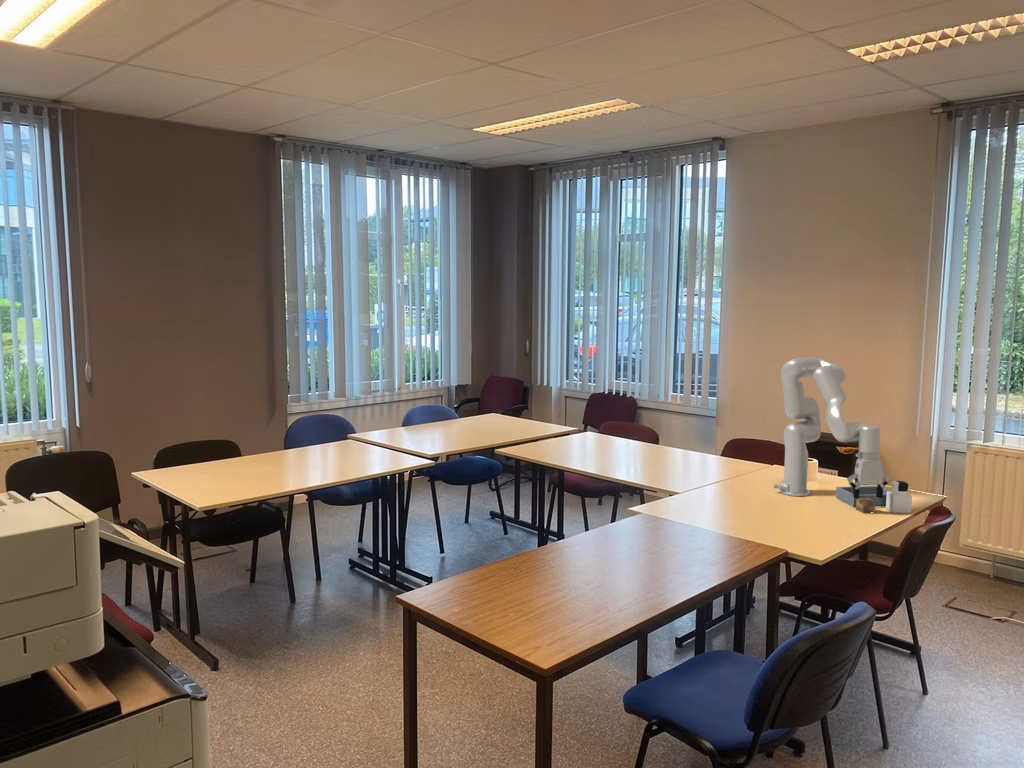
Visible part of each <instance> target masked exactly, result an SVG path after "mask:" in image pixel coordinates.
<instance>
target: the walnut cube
mask: <svg viewBox="0 0 1024 768" xmlns="http://www.w3.org/2000/svg"><path fill="white" fill-rule="evenodd" d="M857 510H858V511H857ZM855 511H857V512H859V511H860V512H859V513H861V512H862V513H861V514H863V513H864V514H872V513H871V512H874V513H873V514H875V513H876V507H875V501H874V500H872V499H870V498H859V499H857V501H856V507H855Z"/></svg>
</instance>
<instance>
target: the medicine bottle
mask: <svg viewBox="0 0 1024 768" xmlns="http://www.w3.org/2000/svg"><path fill="white" fill-rule="evenodd" d="M890 485H891V486H890V490H889V491H887V496H886V507H885V508H886V509H887V510H888V511H890V512H892V513H893V512H894V513H893V514H911V513H912V506H913V505H912V504H913V503H912V502H913V495H911V494H908V493H909V483H908V482H906V481H903V480H894V481H891V484H890Z"/></svg>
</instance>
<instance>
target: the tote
mask: <svg viewBox="0 0 1024 768" xmlns="http://www.w3.org/2000/svg"><path fill="white" fill-rule="evenodd" d="M877 487H878V486H877V485H861V486H860V487H859V488H858V489H859V490H860V493H859V498H870V499H872V500H874V501H875V506H886V496H887V491H890V489H889V490H888V489H886V488H883V496H882V498H879V497H877V496H876V488H877ZM835 490H836V491H835V499H836V498H837V500H838V499H839V500H838V501H840V500H841V502H842V501H843V502H842V503H844V502H845V503H844V504H846V503H847V504H846V505H848V504H849V506H850V505H851V506H850V507H852V506H853V507H852V508H856V501H857V499H856V498H854V497H853V488H852V486H836V489H835Z"/></svg>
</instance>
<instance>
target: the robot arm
mask: <svg viewBox="0 0 1024 768" xmlns="http://www.w3.org/2000/svg"><path fill="white" fill-rule="evenodd" d="M811 377H812V378H813V381H814V384H816V387H817V389H818V390H819V391H818V392H819V393H820V395H821V397H822V399H823V401H824V403H825V419H826V424H827V426H828V428H829V430H830V432H831V435H832V436H833V437H834V439H836V441H838V442H840V443H848V442H855V441H856V442H857V441H858V451H857V452H858V453H855V457H856V458H857V457H858V458H857V459H856V462H855V467H854V473H853V474H852V475H850V476H848V477H847V478H846V480H847V482H848V484H849V486H850V487H852V488H853V497H854V498H856V499H859V493H860V490H859V489H858V488H859V487H860V486H878V487H877V488H876V496H877V497H879V498H882V496H883V488H884V489H886V488H885V486H887V485H888V484H889V480H890V479H891V478H890V476H889V475H886V474H884V466H883V461H882V459H881V458H880V454H881V453H880V448H881V443H880V442H881V428H880V427H879V425H874V424H865V423H862V422H857V421H854V422H846V421H845V420H844V417H843V415H842V411H841V409H842V405H843V403H845V402H846V400H847V394H846V392H845V390H844V389H843V387H842V385H841V384H843V383H844V382H845V380H846V372H845V371H844V369H843V368H842V367H841V366H840V365H838V364H836V363H833V362H830V361H827V360H825V359H822V358H819V357H812V356H811V357H796V358H793V359H792V358H791V359H789V360H788V361H786V362H785V363H784V364H783V366H782V368H781V370H780V379H781V384H782V391H783V393H782V394H783V403H784V411H785V416H787V418H788V419H791V420H800V421H796V422H791V423H789V424H787V425H786V426H785V428H784V430H783V439H784V441H783V442H784V468H783V469H784V471H783V481H781V483H779V484H778V483H773V485H772V488H773V489H778V490H779V492H780V493H781V494H783V495H786V496H790V497H791V496H792V497H807V496H810V495H811V491H810V490H809V489H807V486H808V469H809V468H808V467H809V465H808V464H809V451H808V449H807V445H806V444H808V443H813V442H816V441H818V440H819V439H820V436H821V433H822V424H821V414H820V405H819V404H818V402H817V401H816V399H814V397H812V396H805V388H804V385H803V382H802V381H801V378H811ZM853 481H854V482H853Z"/></svg>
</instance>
